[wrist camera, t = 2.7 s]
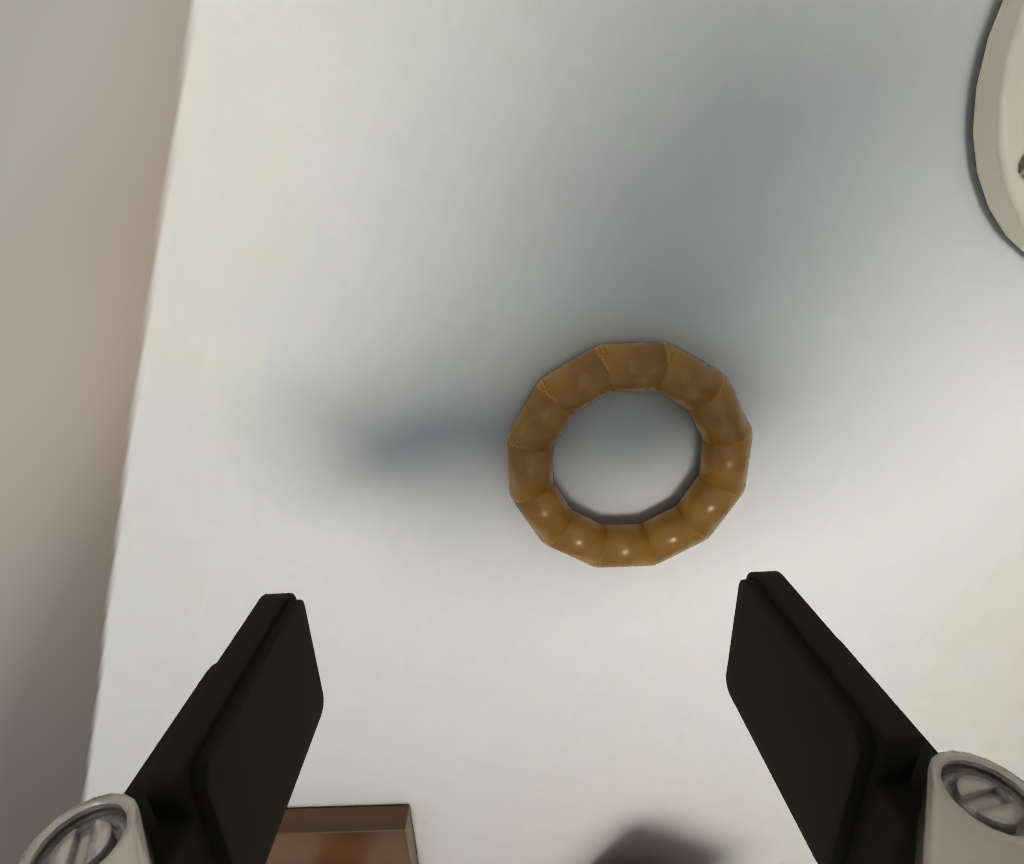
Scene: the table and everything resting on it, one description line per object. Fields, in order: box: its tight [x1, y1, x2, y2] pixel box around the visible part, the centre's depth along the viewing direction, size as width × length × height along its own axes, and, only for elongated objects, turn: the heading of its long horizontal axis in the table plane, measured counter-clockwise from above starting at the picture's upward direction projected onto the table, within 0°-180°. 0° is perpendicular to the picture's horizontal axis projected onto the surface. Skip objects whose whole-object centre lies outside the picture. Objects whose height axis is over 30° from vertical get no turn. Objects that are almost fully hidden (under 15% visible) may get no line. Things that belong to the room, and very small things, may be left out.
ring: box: [508, 342, 752, 567], centre depth 19 cm, size 9×9×2 cm
